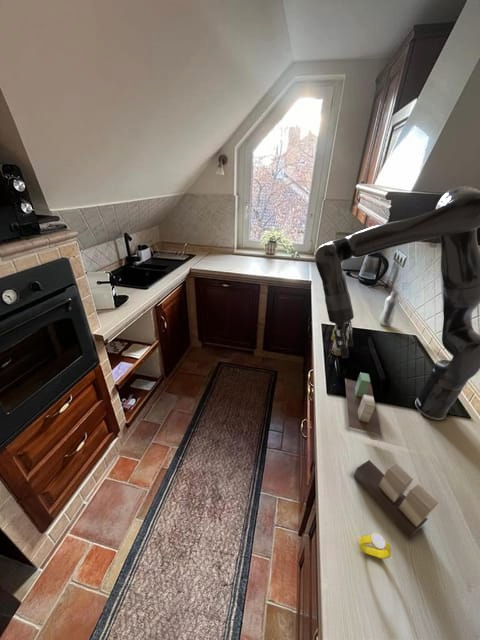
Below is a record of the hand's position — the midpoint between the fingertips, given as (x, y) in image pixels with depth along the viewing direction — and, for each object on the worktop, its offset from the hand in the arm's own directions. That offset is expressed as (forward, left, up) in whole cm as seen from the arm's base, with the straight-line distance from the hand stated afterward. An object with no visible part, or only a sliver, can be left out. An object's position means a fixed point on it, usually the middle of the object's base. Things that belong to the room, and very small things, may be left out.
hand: (347, 351), depth 85 cm
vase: (-32, -28, -23) cm, 48 cm away
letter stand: (+14, +31, -22) cm, 41 cm away
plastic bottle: (-68, -28, -22) cm, 77 cm away
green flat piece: (-11, +3, -21) cm, 24 cm away
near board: (-7, +7, -22) cm, 24 cm away
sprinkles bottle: (-23, -20, -23) cm, 38 cm away
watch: (+26, +37, -23) cm, 51 cm away
